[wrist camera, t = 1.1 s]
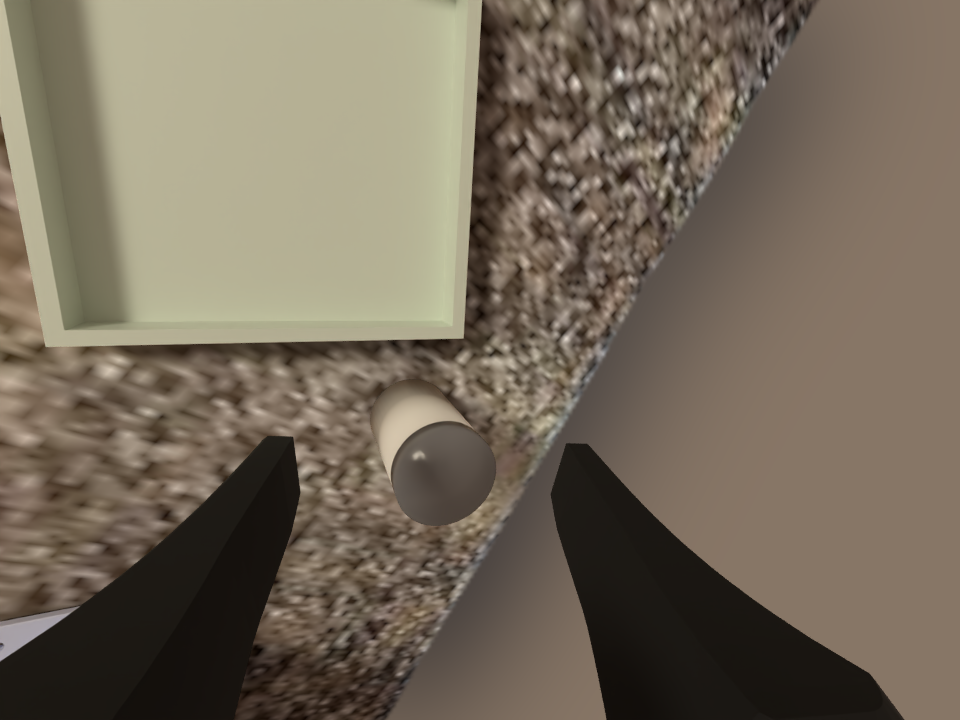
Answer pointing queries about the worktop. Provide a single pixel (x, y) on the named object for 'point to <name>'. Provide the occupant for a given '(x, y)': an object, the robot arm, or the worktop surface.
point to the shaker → (431, 453)
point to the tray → (242, 167)
